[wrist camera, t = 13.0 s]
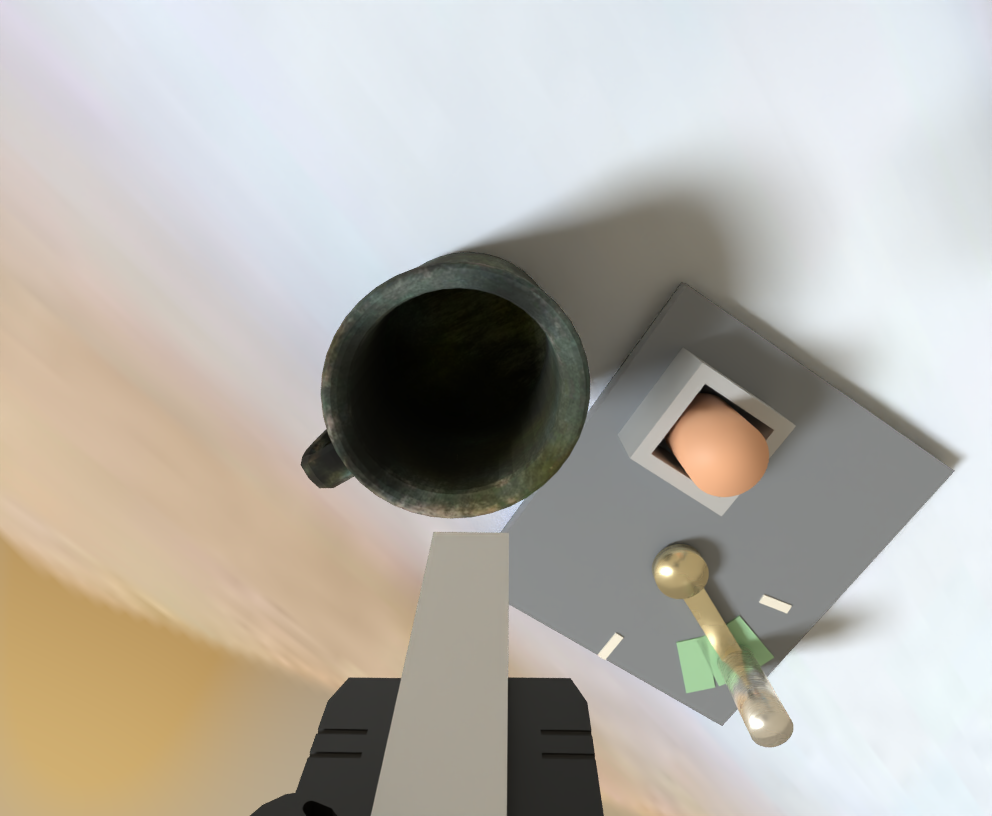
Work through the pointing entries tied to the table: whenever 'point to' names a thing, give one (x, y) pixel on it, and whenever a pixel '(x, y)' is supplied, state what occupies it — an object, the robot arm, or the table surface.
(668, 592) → the brass ball-ended crank
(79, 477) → the table surface
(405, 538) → the table surface
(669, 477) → the tuner board
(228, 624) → the table surface
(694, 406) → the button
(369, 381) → the mug
